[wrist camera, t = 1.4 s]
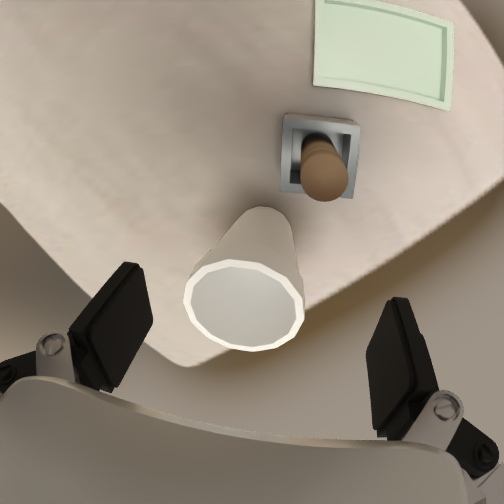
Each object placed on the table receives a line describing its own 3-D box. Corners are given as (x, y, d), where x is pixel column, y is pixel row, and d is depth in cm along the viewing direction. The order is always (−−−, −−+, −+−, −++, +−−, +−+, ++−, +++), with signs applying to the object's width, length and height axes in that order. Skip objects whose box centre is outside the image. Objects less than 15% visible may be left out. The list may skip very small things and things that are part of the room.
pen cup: (286, 113, 27) (283, 118, 22) (352, 120, 26) (361, 126, 22) (283, 174, 30) (279, 191, 26) (345, 181, 29) (352, 198, 25)
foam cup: (222, 261, 37) (188, 340, 26) (221, 189, 32) (177, 252, 21) (300, 271, 36) (295, 357, 25) (311, 198, 31) (314, 269, 20)
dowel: (301, 131, 27) (302, 152, 18) (335, 134, 26) (351, 158, 18) (299, 162, 28) (298, 199, 20) (332, 166, 28) (345, 203, 20)
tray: (312, 85, 25) (313, 85, 23) (314, -4, 20) (315, -9, 18) (442, 109, 23) (449, 111, 22) (446, 25, 18) (453, 23, 16)
